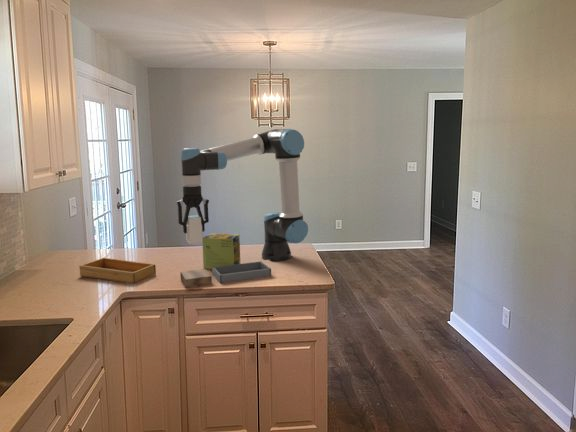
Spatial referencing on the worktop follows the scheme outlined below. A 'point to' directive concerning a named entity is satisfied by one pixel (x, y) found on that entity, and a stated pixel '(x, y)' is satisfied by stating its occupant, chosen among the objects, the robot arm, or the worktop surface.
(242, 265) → the bin
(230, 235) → the protein box
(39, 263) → the worktop surface
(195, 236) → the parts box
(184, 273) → the stand
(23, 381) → the worktop surface
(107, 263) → the tray
